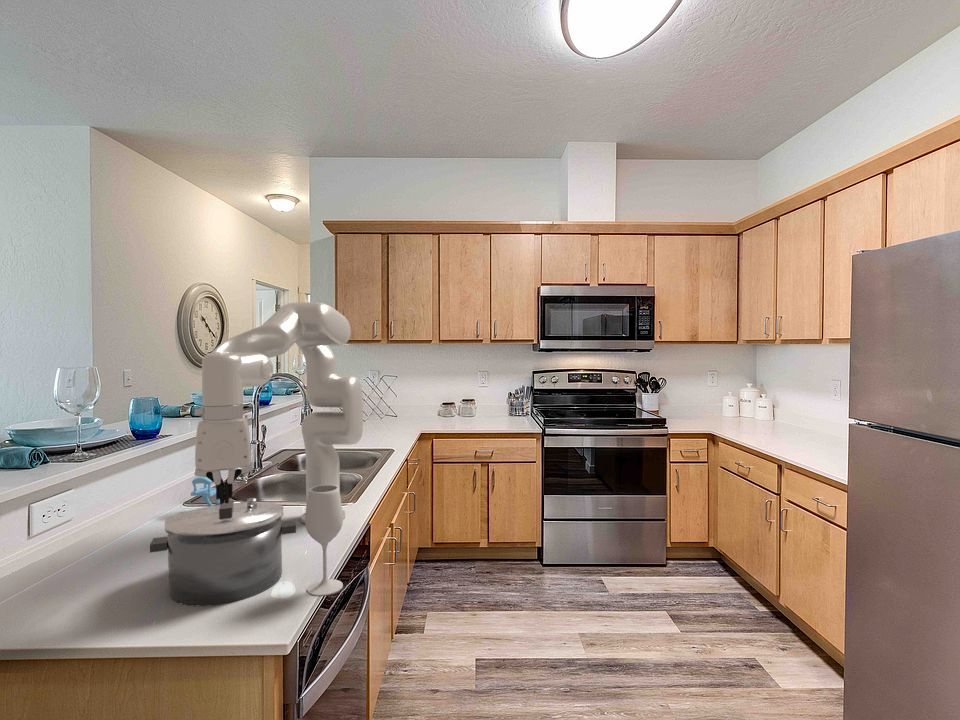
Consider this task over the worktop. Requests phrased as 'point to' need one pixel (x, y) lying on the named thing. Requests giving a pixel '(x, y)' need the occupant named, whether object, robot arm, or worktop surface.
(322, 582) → the wineglass
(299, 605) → the worktop surface
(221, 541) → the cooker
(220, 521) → the lid
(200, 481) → the light blue angular piece
